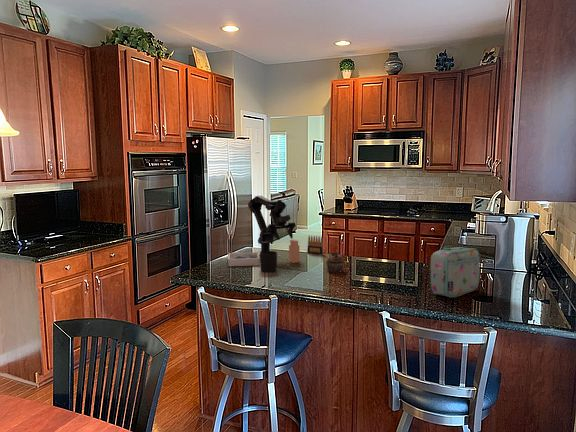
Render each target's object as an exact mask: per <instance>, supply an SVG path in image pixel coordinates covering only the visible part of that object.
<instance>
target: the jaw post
mask: <svg viewBox="0 0 576 432" xmlns="http://www.w3.org/2000/svg"><path fill="white" fill-rule="evenodd" d="M289 242H290V243H289V244H288V262H289V263H293V264H295V263H300V244H299V240H297V239H290V241H289Z"/></svg>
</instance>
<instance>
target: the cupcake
mask: <svg viewBox="0 0 576 432" xmlns="http://www.w3.org/2000/svg"><path fill="white" fill-rule="evenodd" d="M327 256H328V257H327V259H326V261H325V263H326V268H327V271H328V272H329V271H330V272H329V273H335V272H336V273H341V272H340V271H342V272H343V267H344V260H343V258H342V256H341V254H339V253H338V252H330V253H329V254H328V255H327Z"/></svg>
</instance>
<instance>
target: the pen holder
mask: <svg viewBox="0 0 576 432" xmlns="http://www.w3.org/2000/svg"><path fill="white" fill-rule="evenodd" d="M259 257H260V265H259V266H260V271H261V272H263V273H274V272H276V271H277V269H278V268H277V266H278V252H277V251H273V250H270V251H267V252H265V253H261V252H260V251H259Z"/></svg>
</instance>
